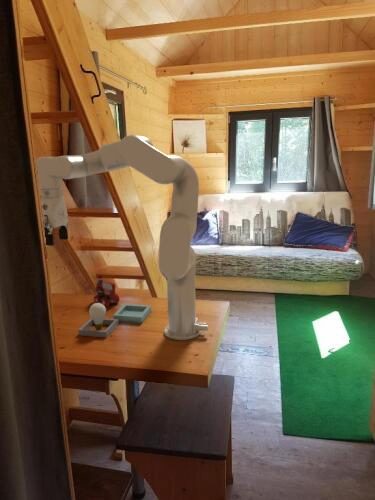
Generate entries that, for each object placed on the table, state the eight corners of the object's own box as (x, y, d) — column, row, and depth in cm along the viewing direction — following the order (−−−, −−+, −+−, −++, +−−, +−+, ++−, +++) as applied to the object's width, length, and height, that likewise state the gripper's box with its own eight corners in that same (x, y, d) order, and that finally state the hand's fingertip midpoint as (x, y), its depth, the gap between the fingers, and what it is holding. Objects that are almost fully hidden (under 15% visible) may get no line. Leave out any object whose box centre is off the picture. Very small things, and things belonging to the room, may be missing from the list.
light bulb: (91, 334, 131) (88, 307, 129) (90, 327, 137) (88, 301, 134) (108, 331, 133) (106, 305, 131) (106, 325, 138) (104, 299, 136)
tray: (151, 311, 150) (151, 305, 149) (142, 323, 139) (141, 317, 138) (124, 309, 152) (124, 304, 151) (113, 321, 141) (113, 315, 141)
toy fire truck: (104, 297, 166) (102, 275, 163) (122, 304, 158) (120, 280, 155) (91, 302, 161) (88, 279, 158) (108, 309, 153) (106, 285, 150)
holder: (118, 324, 139) (118, 319, 138) (106, 337, 129) (106, 332, 128) (92, 322, 141) (91, 317, 141) (78, 335, 131) (78, 329, 131)
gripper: (47, 196, 120) (53, 248, 124) (73, 191, 137) (78, 237, 141) (26, 196, 122) (33, 247, 126) (55, 191, 138) (59, 237, 142)
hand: (56, 242), depth 133 cm, fingers open, 9 cm apart
